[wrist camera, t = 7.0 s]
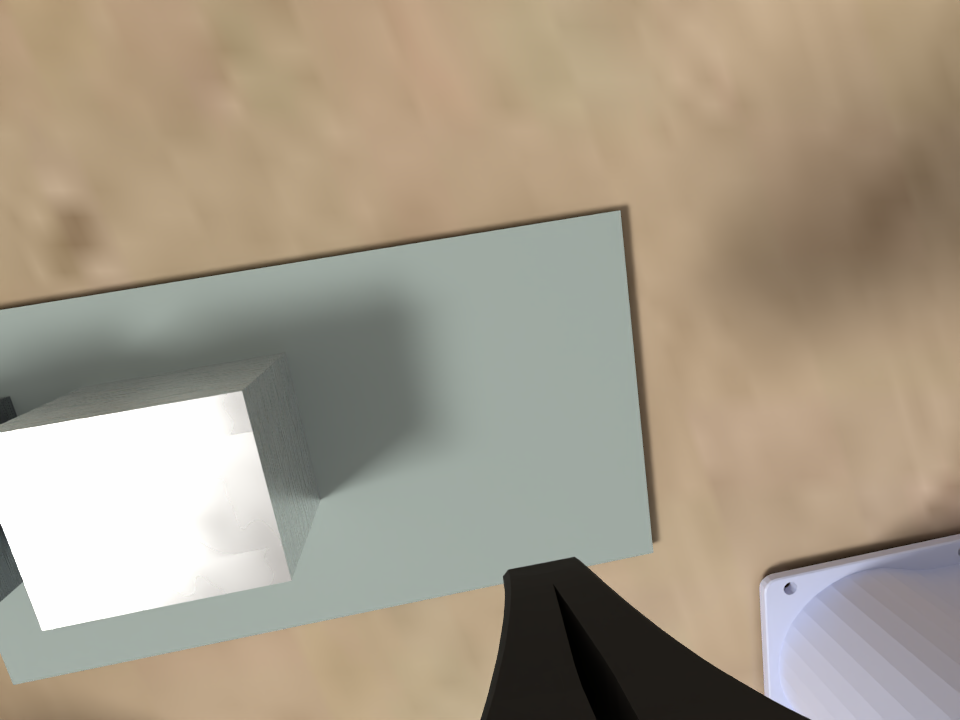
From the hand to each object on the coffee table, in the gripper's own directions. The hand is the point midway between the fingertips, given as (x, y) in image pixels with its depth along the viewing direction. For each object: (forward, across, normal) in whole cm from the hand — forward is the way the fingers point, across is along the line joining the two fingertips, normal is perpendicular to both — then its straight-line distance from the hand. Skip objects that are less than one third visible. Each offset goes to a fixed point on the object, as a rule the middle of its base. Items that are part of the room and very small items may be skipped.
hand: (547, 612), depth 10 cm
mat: (+9, +6, 0) cm, 11 cm away
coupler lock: (+9, +9, -1) cm, 13 cm away
